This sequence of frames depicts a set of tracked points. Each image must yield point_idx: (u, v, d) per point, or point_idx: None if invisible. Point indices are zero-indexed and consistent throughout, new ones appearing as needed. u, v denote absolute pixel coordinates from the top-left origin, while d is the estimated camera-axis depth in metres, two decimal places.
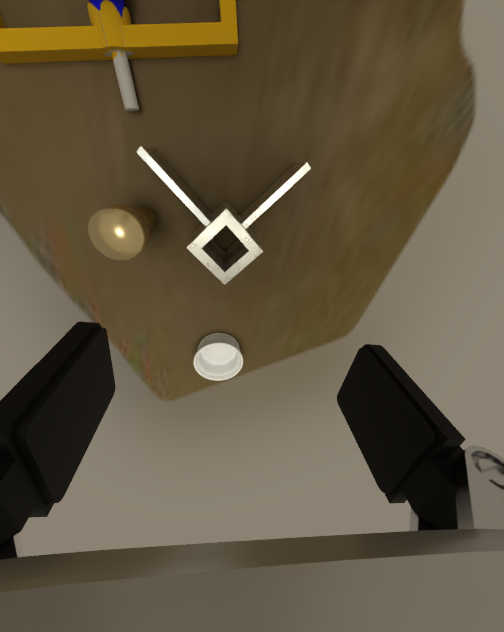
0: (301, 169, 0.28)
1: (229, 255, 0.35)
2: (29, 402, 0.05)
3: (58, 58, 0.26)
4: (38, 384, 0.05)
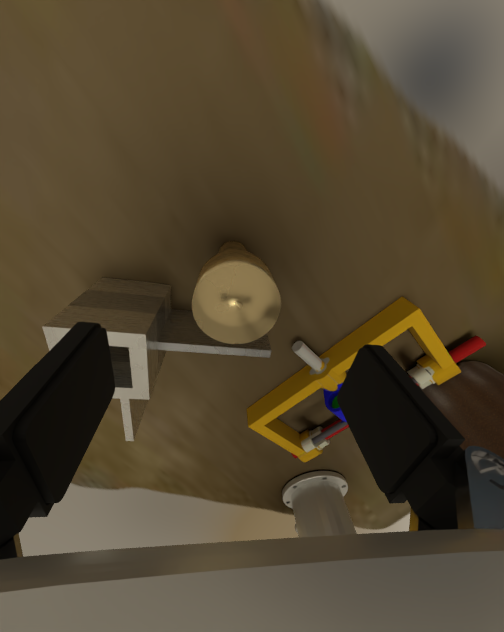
0: (131, 435, 0.27)
1: None
2: (29, 402, 0.05)
3: (360, 331, 0.29)
4: (38, 384, 0.05)
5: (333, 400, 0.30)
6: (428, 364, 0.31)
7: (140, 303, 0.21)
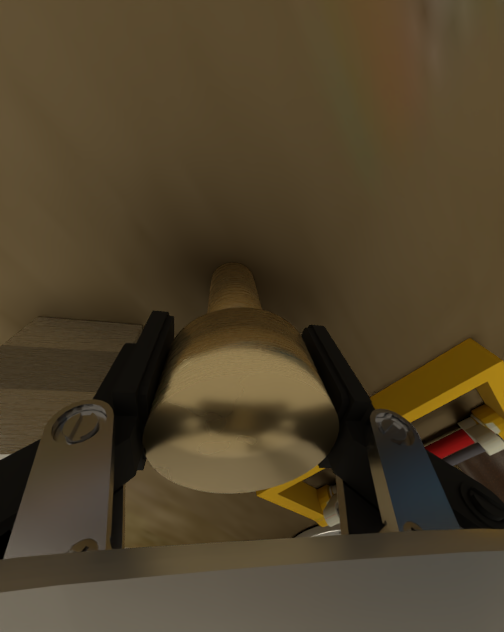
0: None
1: None
2: (144, 371, 0.06)
3: (410, 381, 0.22)
4: (144, 358, 0.07)
5: None
6: (491, 419, 0.24)
7: (84, 369, 0.13)
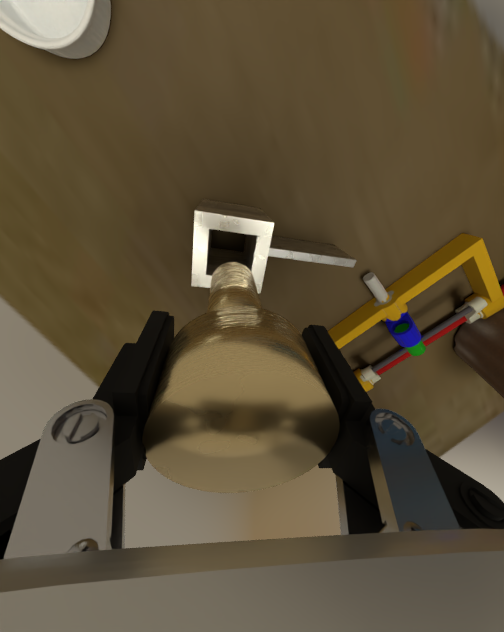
0: None
1: None
2: (144, 371, 0.06)
3: (423, 265, 0.33)
4: (144, 358, 0.07)
5: (395, 329, 0.34)
6: None
7: (249, 211, 0.24)
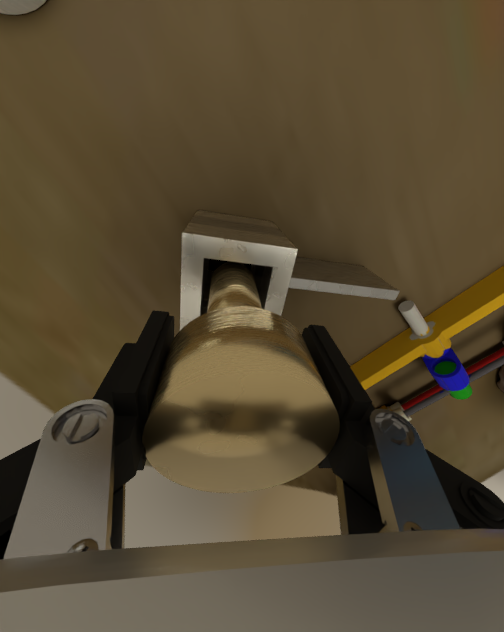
0: None
1: None
2: (144, 370, 0.06)
3: (472, 291, 0.27)
4: (144, 358, 0.07)
5: (435, 368, 0.28)
6: None
7: (260, 229, 0.17)
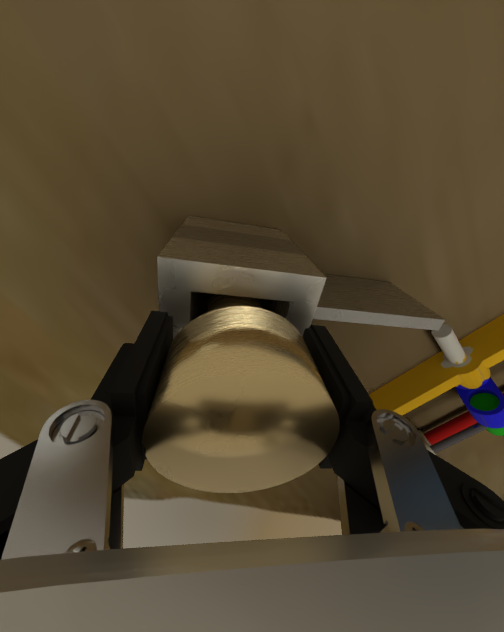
0: None
1: None
2: (142, 371, 0.06)
3: None
4: (142, 358, 0.07)
5: (471, 400, 0.24)
6: None
7: (268, 243, 0.13)
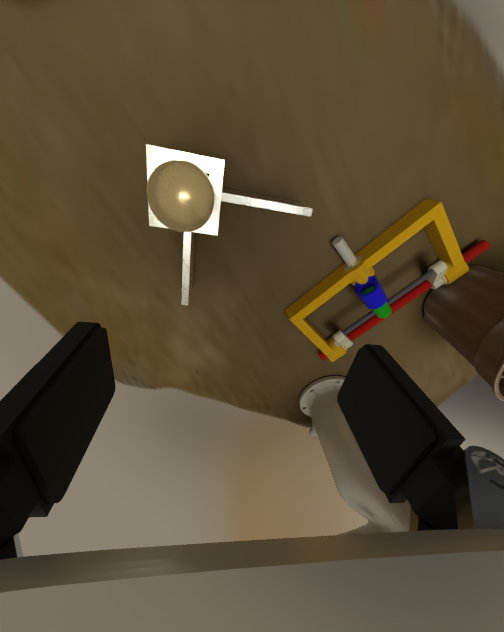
0: (187, 299, 0.31)
1: None
2: (29, 402, 0.05)
3: (389, 230, 0.35)
4: (38, 384, 0.05)
5: (363, 292, 0.36)
6: None
7: None
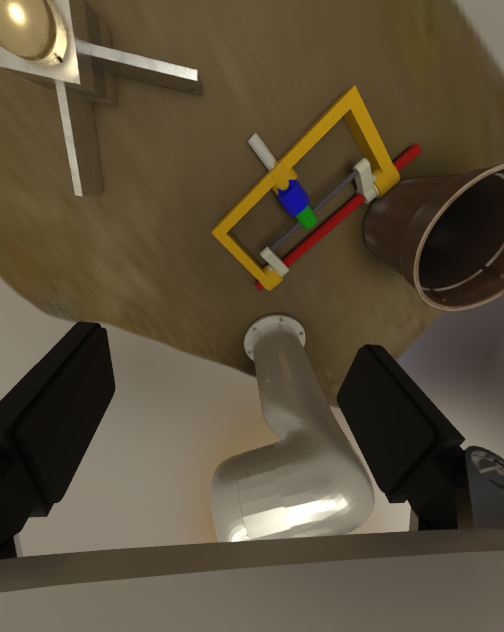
0: (79, 187, 0.29)
1: None
2: (29, 401, 0.05)
3: (309, 129, 0.33)
4: (38, 384, 0.05)
5: None
6: (372, 173, 0.35)
7: None
